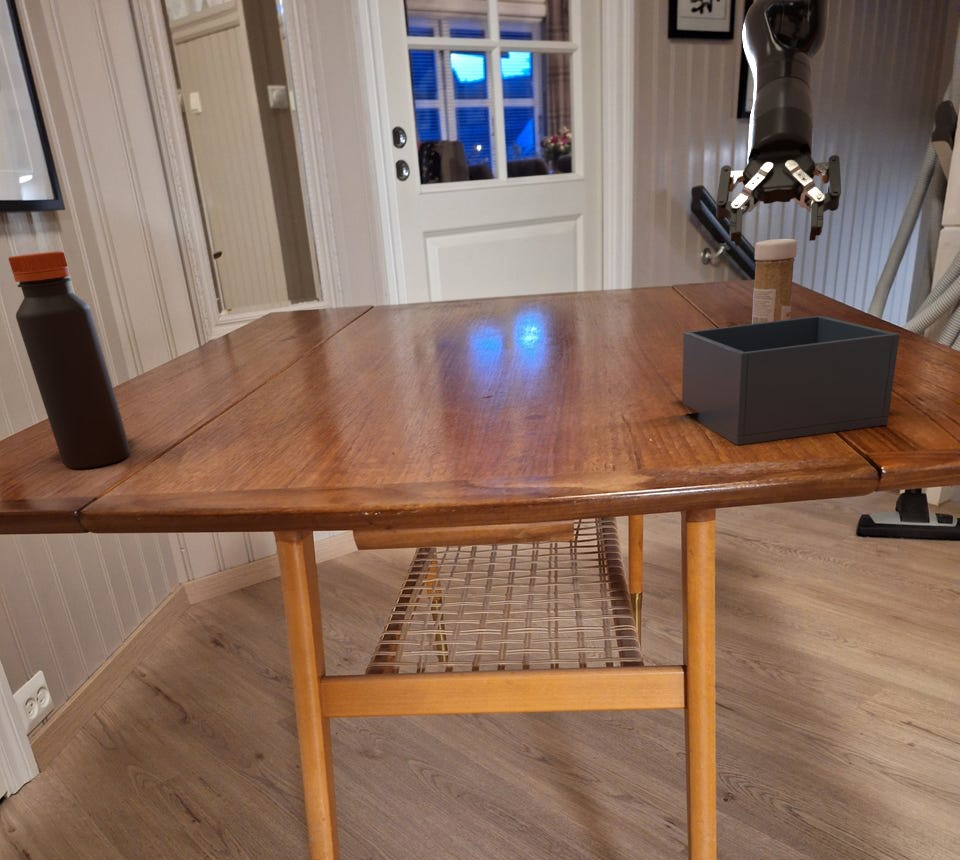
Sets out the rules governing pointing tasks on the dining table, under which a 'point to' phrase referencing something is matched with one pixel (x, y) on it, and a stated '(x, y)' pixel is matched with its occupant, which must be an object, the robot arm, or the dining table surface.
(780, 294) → the sprinkles bottle
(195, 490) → the dining table surface
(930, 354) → the dining table surface
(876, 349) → the open storage bin
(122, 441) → the vinegar
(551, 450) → the dining table surface
